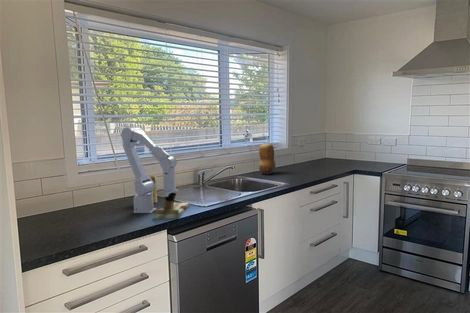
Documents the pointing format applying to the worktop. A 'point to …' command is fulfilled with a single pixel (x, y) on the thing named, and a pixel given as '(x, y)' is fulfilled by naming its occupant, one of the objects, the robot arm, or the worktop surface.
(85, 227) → the worktop surface
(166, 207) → the walnut block
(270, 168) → the butternut squash
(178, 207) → the trap runway
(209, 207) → the worktop surface
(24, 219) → the worktop surface
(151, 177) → the candy box
